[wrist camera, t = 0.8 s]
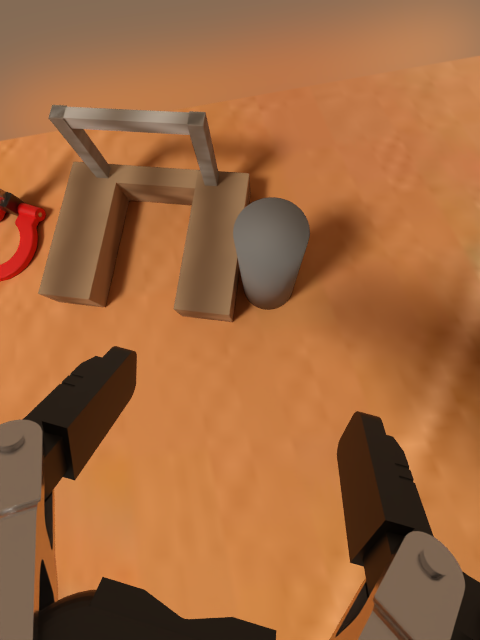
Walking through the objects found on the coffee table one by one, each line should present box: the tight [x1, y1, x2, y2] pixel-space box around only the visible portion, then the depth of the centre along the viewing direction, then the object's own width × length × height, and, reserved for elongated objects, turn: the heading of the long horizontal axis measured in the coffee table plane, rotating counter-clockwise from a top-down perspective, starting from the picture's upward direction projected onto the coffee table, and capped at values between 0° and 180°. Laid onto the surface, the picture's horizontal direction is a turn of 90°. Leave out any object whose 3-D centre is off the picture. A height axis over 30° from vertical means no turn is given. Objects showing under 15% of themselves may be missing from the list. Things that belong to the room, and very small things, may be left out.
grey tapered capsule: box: [233, 198, 310, 310], centre depth 25 cm, size 5×5×11 cm
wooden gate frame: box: [38, 105, 250, 322], centre depth 27 cm, size 18×14×10 cm
